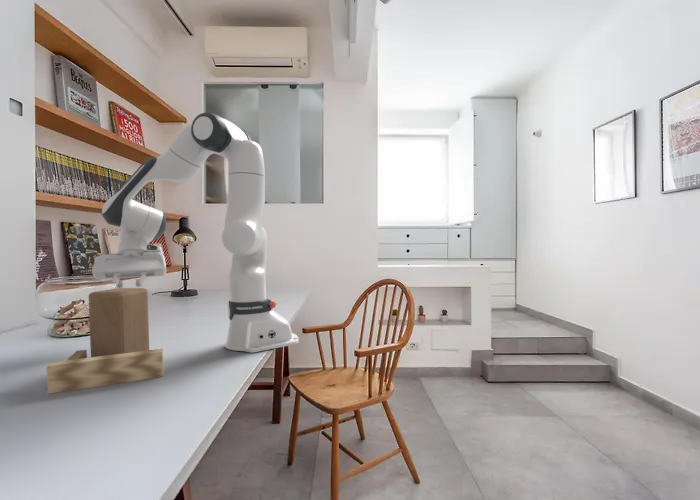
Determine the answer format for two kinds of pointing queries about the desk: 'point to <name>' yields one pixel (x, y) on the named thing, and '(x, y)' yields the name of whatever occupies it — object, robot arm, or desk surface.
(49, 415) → the desk surface
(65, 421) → the desk surface
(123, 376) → the tan wooden slab
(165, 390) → the desk surface
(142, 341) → the block
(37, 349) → the desk surface
